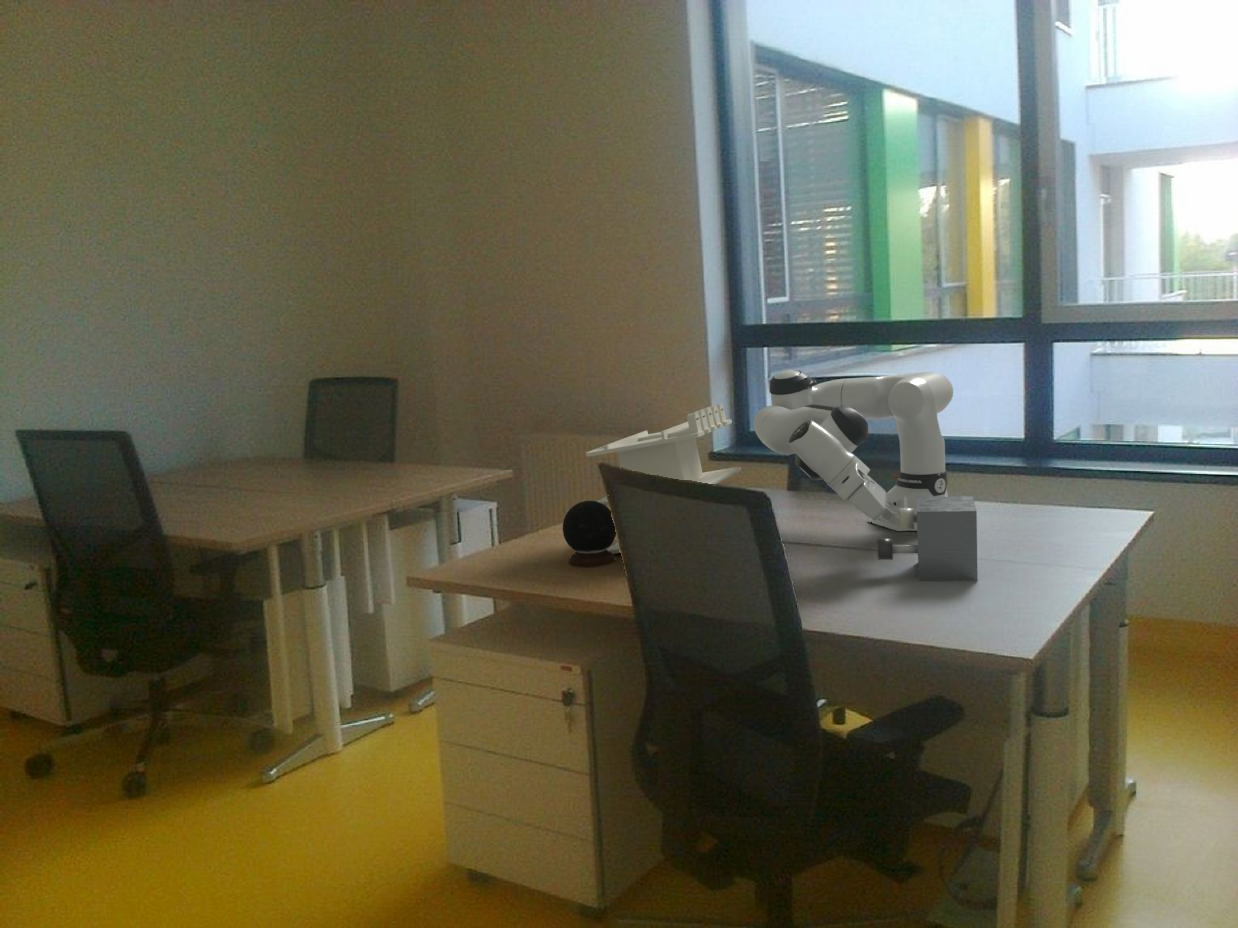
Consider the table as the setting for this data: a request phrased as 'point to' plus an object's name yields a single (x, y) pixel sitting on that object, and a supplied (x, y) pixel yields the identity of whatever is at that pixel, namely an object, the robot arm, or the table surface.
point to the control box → (947, 539)
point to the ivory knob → (907, 518)
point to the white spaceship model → (670, 451)
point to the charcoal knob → (893, 549)
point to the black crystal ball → (589, 534)
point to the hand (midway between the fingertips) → (897, 521)
